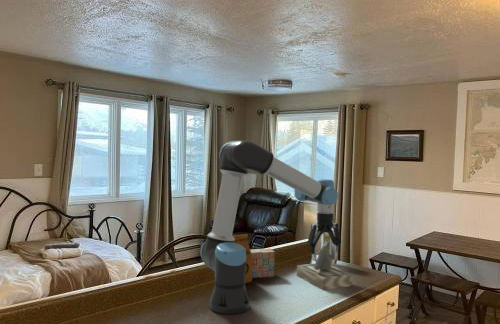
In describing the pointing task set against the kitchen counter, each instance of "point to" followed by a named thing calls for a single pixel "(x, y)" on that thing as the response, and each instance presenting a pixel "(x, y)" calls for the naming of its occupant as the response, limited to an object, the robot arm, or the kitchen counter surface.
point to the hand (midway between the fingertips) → (323, 259)
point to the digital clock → (324, 258)
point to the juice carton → (327, 238)
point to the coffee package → (243, 241)
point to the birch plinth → (324, 277)
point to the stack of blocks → (263, 263)
